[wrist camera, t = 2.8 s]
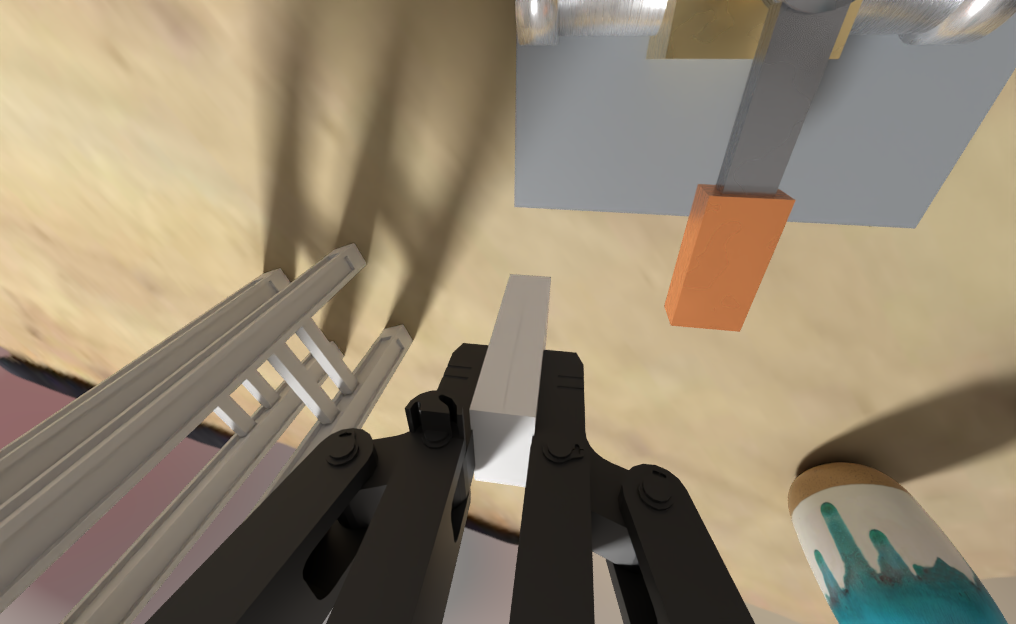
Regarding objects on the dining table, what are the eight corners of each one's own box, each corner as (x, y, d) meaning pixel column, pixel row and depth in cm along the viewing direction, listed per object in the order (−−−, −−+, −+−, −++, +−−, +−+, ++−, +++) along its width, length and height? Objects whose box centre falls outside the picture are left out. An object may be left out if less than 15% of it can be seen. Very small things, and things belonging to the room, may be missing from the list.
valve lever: (910, -140, 11) (961, -170, 10) (731, 311, 20) (744, 332, 18) (777, -132, 12) (806, -160, 10) (660, 305, 20) (666, 325, 19)
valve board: (1236, -369, 14) (1325, -427, 12) (893, 217, 26) (915, 228, 24) (526, -287, 17) (521, -324, 15) (518, 198, 29) (514, 206, 28)
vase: (766, 452, 40) (888, 707, 24) (892, 436, 36) (1134, 726, 20) (777, 508, 45) (884, 752, 29) (889, 499, 41) (1083, 774, 25)
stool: (324, 376, 44) (-148, 958, 16) (234, 260, 37) (-970, 955, 8) (439, 352, 40) (59, 1138, 11) (360, 214, 32) (-1505, 1520, 3)
